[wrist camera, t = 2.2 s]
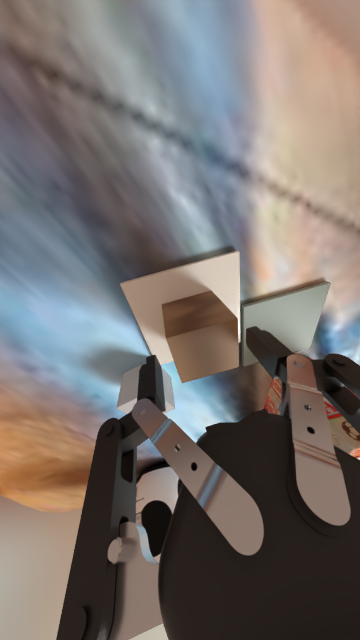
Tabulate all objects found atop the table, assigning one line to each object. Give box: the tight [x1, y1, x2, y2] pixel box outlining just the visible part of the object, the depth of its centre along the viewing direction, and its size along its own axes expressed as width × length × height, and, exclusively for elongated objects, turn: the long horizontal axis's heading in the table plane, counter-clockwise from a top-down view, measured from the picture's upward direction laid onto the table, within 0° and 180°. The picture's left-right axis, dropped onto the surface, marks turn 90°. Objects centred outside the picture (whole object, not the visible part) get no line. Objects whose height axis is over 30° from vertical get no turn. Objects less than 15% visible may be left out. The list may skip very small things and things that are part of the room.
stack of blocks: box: [264, 358, 360, 460], centre depth 27 cm, size 21×6×12 cm, turn 7°
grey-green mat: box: [241, 282, 331, 367], centre depth 22 cm, size 11×11×1 cm
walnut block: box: [162, 290, 239, 383], centre depth 15 cm, size 6×6×6 cm
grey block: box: [117, 362, 175, 414], centre depth 21 cm, size 5×5×5 cm
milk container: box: [136, 464, 183, 562], centre depth 36 cm, size 17×17×18 cm
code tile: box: [120, 251, 240, 365], centre depth 18 cm, size 12×12×1 cm
